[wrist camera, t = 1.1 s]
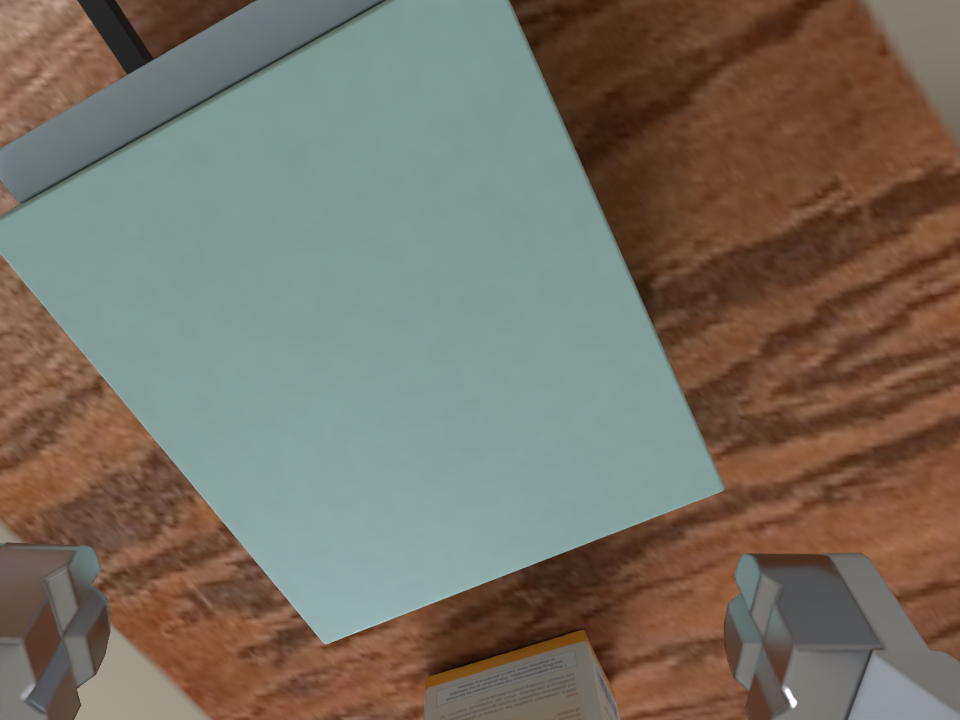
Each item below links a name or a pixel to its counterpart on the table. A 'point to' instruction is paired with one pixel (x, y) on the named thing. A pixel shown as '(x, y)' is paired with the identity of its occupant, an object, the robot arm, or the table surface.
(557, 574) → the table surface
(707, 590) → the table surface
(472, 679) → the supplement box
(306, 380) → the mint green drawer box
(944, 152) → the table surface
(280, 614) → the table surface
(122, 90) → the drawer
